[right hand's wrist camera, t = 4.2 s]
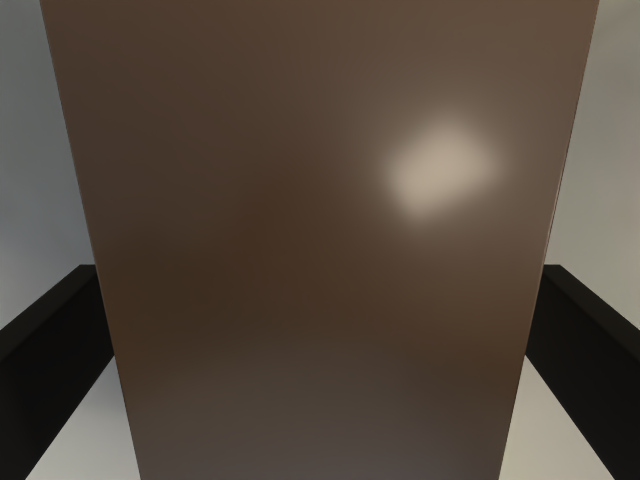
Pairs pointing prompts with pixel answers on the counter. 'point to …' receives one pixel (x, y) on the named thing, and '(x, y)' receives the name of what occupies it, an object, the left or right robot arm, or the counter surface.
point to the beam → (319, 222)
